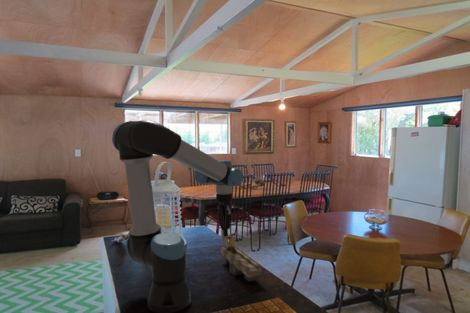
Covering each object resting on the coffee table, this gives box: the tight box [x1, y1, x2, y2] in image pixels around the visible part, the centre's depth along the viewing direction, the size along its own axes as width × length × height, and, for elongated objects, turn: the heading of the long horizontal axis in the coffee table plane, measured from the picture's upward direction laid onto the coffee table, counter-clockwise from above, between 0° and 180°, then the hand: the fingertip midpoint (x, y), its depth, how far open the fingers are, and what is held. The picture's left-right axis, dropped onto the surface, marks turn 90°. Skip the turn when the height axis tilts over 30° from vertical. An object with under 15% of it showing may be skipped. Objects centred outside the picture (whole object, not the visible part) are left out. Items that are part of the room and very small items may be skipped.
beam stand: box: [219, 246, 262, 282], centre depth 140 cm, size 28×7×7 cm, turn 25°
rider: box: [225, 234, 236, 252], centre depth 147 cm, size 4×4×7 cm
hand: (224, 242), depth 154 cm, fingers closed
